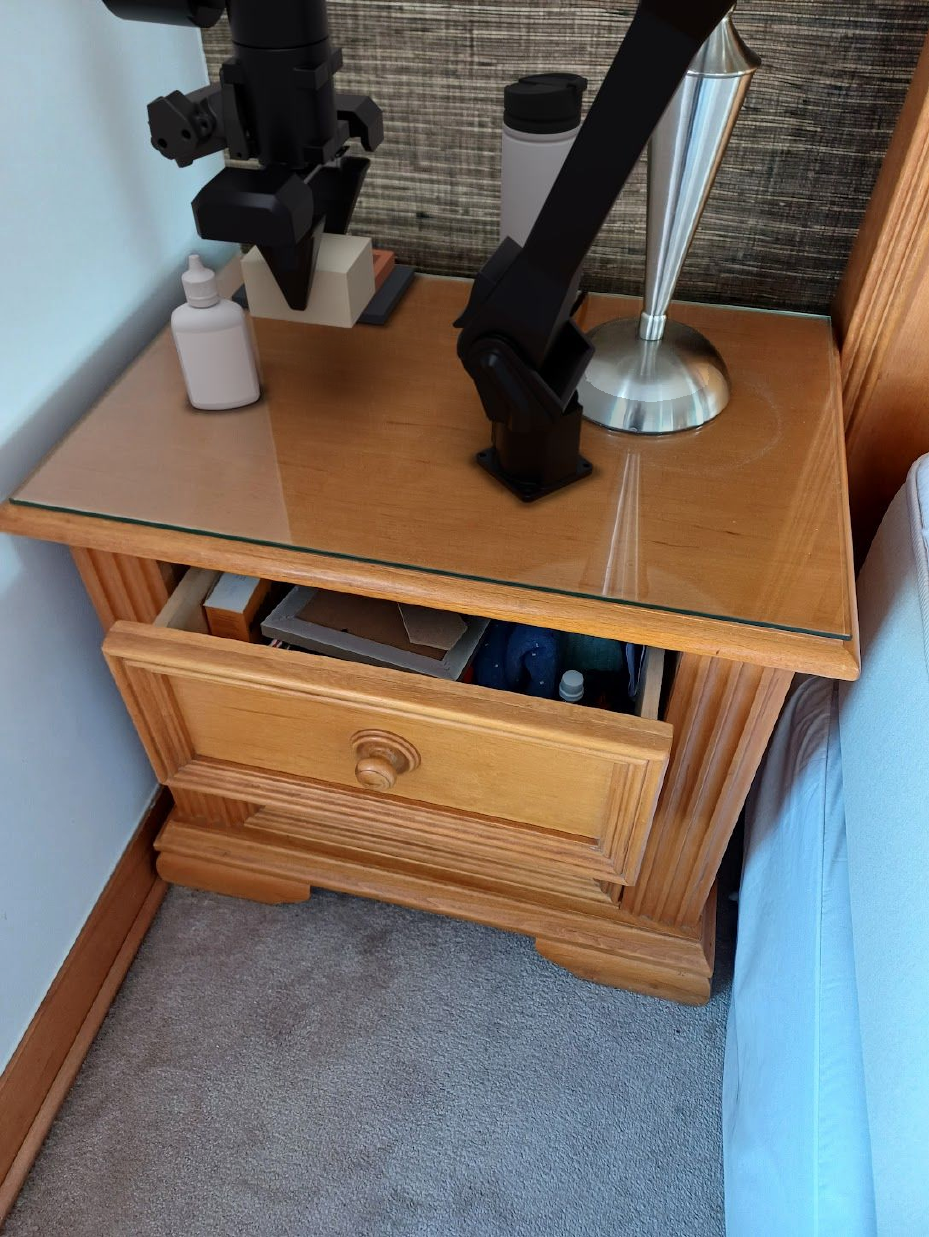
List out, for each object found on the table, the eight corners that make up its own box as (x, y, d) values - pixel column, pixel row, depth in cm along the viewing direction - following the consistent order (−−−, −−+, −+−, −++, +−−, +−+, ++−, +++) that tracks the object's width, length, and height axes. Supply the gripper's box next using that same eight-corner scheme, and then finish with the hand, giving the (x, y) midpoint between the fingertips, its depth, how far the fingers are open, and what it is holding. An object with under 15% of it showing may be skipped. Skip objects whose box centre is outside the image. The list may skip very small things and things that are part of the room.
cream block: (375, 292, 66) (371, 237, 63) (351, 328, 62) (346, 272, 59) (279, 281, 67) (270, 227, 64) (250, 316, 64) (240, 261, 61)
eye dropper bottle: (244, 419, 72) (213, 275, 64) (182, 407, 74) (144, 264, 65) (268, 390, 75) (242, 248, 67) (208, 380, 77) (174, 239, 68)
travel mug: (547, 341, 81) (564, 92, 66) (485, 322, 83) (488, 78, 69) (580, 312, 84) (603, 70, 70) (519, 294, 87) (529, 57, 72)
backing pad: (415, 276, 89) (414, 252, 88) (383, 325, 83) (381, 300, 81) (275, 260, 92) (271, 235, 90) (232, 306, 85) (227, 280, 84)
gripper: (218, -10, 60) (257, 225, 72) (72, 74, 48) (147, 342, 59) (378, -1, 58) (392, 239, 70) (269, 89, 46) (308, 363, 57)
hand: (313, 290), depth 64 cm, fingers closed on cream block, 5 cm apart
